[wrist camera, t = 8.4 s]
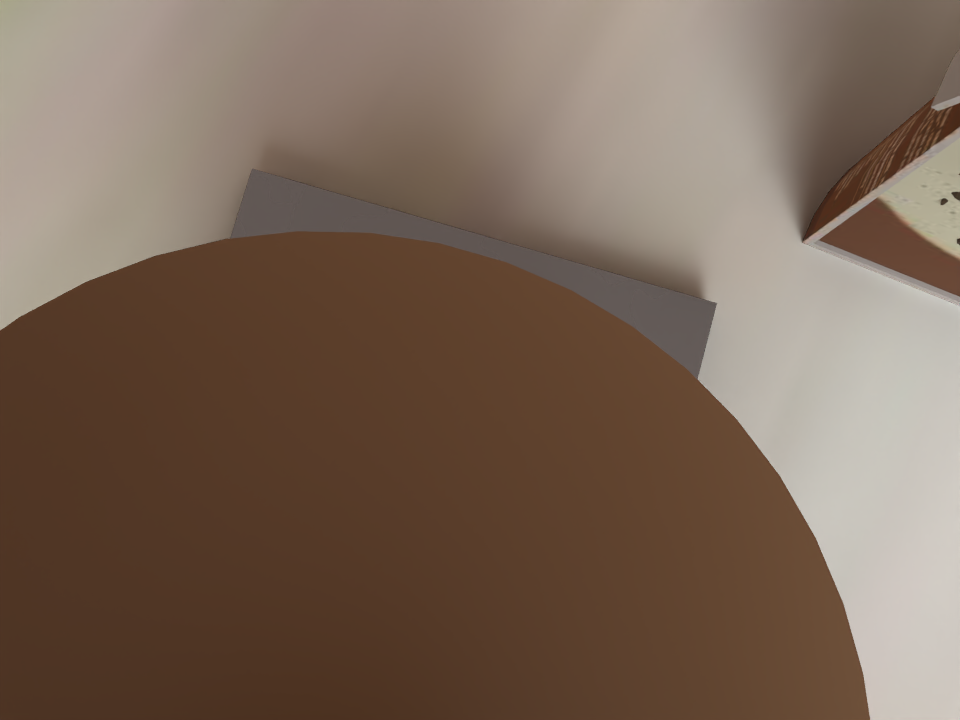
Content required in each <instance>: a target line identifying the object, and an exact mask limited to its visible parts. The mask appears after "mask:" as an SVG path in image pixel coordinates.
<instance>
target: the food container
mask: <svg viewBox="0 0 960 720" xmlns="http://www.w3.org/2000/svg"><path fill="white" fill-rule="evenodd" d="M802 243H805V244H807V245H810V246H812V247H815V248H817V249H820V250H822V251H825V252H827V253H830V254H832V255H835V256H837V257H840V258H842V259H845V260H847V261H850V262H852V263H855V264H857V265H860V266H862V267H865V268H867V269H869V270H872V271H874V272H877V273H879V274H882V275H884V276H887V277H889V278H892V279H894V280H897V281H899V282H902V283H904V284H907V285H909V286H912V287H914V288H917V289H919V290H922V291H924V292H927V293H929V294H932V295H934V296H937V297H939V298H942V299H944V300H947V301H949V302H952V303H954V304H957V305H959V306H960V49H959V50H958V52H957V53H956V55H955V56H954V58H953V59H952V61H951V63H950V65H949V67H948V69H947V72H946V74H945V76H944V78H943V81H942V83H941V85H940V87H939V90H938V92H937V94H936V96H935V97H934V98H933V99H932V100H930V101H929V102H928V103H927V104H926V105H924V106H923V107H922V108H921V109H920V110H919V111H917V112H916V113H915V114H914V115H913V116H912V117H910V118H909V119H908V120H907V121H906V122H905V123H903V124H902V125H901V126H900V127H899V128H898V129H896V130H895V131H894V132H893V133H892V134H890V135H889V136H888V137H887V138H886V139H885V140H883V141H882V142H881V143H880V144H879V145H878V146H876V147H875V148H874V149H873V150H872V151H871V152H869V153H868V154H867V155H866V156H865V157H863V158H862V159H861V160H860V161H859V162H858V163H856V164H855V165H854V166H853V167H852V168H851V169H849V170H848V171H847V172H846V173H845V175H844V176H843V177H842V178H841V179H840V180H839V181H838V182H837V183H836V185H835V186H834V187H833V188H832V189H831V190H830V191H829V193H828V194H827V196H826V197H825V199H824V200H823V202H822V203H821V205H820V207H819V208H818V210H817V211H816V213H815V214H814V216H813V219H812V221H811V223H810V226H809V228H808V230H807V232H806V235H805V237H804V239H803V242H802Z"/></svg>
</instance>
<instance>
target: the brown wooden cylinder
mask: <svg viewBox="0 0 960 720" xmlns="http://www.w3.org/2000/svg"><path fill="white" fill-rule="evenodd" d="M0 720H870V716H869V710H868V703H867V697H866V690H865V683H864V677H863V672H862V669H861V665H860V661H859V658H858V654H857V651H856V647H855V644H854V640H853V637H852V633H851V629H850V626H849V622H848V619H847V615H846V612H845V608H844V605H843V602H842V600H841V597H840V595H839V593H838V590H837V588H836V585H835V583H834V581H833V578H832V576H831V574H830V571H829V569H828V566H827V564H826V562H825V559H824V557H823V555H822V552H821V550H820V547H819V545H818V543H817V540H816V538H815V536H814V534H813V533H812V531H811V529H810V527H809V526H808V524H807V522H806V521H805V519H804V517H803V515H802V514H801V512H800V510H799V508H798V507H797V505H796V503H795V502H794V500H793V498H792V496H791V495H790V493H789V491H788V489H787V488H786V486H785V484H784V483H783V481H782V479H781V477H780V476H779V474H778V473H777V472H776V470H775V469H774V468H773V466H772V465H771V464H770V463H769V461H768V460H767V459H766V457H765V456H764V455H763V453H762V452H761V451H760V449H759V448H758V447H757V446H756V444H755V443H754V442H753V440H752V439H751V438H750V436H749V435H748V434H747V432H746V431H745V430H744V428H743V427H742V426H741V425H740V423H739V422H738V421H737V419H736V418H735V417H734V416H733V415H732V414H731V413H730V412H729V411H728V410H727V409H726V408H725V407H724V406H723V405H722V404H721V403H720V402H719V401H718V400H717V399H716V398H715V397H714V396H713V395H712V394H711V393H710V392H709V391H708V390H707V389H706V388H705V387H704V386H703V385H702V384H701V383H700V382H699V381H698V380H697V379H696V378H695V377H694V376H693V375H692V374H691V373H690V372H689V371H688V370H687V369H686V368H685V367H684V366H682V365H681V364H680V363H679V362H677V361H676V360H675V359H673V358H672V357H671V356H670V355H668V354H667V353H666V352H664V351H663V350H662V349H661V348H659V347H658V346H657V345H655V344H654V343H653V342H652V341H650V340H649V339H648V338H647V337H645V336H644V335H643V334H641V333H640V332H639V331H638V330H636V329H635V328H634V327H632V326H631V325H629V324H628V323H626V322H624V321H623V320H621V319H619V318H618V317H616V316H614V315H612V314H611V313H609V312H607V311H606V310H604V309H602V308H601V307H599V306H597V305H596V304H594V303H592V302H591V301H589V300H587V299H585V298H584V297H582V296H580V295H579V294H577V293H575V292H574V291H572V290H570V289H568V288H565V287H563V286H561V285H558V284H556V283H554V282H551V281H549V280H547V279H544V278H542V277H540V276H537V275H535V274H533V273H530V272H528V271H526V270H523V269H521V268H519V267H516V266H514V265H512V264H509V263H507V262H504V261H500V260H497V259H493V258H490V257H486V256H483V255H479V254H475V253H472V252H468V251H465V250H461V249H458V248H454V247H451V246H447V245H444V244H440V243H435V242H428V241H421V240H415V239H408V238H401V237H394V236H388V235H381V234H374V233H359V232H308V231H295V232H286V233H277V234H268V235H259V236H249V237H240V238H231V239H224V240H220V241H216V242H211V243H207V244H203V245H199V246H195V247H191V248H186V249H182V250H178V251H174V252H170V253H166V254H161V255H157V256H154V257H151V258H148V259H146V260H143V261H140V262H138V263H135V264H132V265H130V266H127V267H125V268H122V269H119V270H117V271H114V272H111V273H109V274H106V275H103V276H101V277H98V278H95V279H93V280H90V281H88V282H85V283H83V284H81V285H79V286H78V287H76V288H74V289H72V290H70V291H68V292H66V293H64V294H62V295H61V296H59V297H57V298H55V299H53V300H51V301H49V302H47V303H45V304H44V305H42V306H40V307H38V308H36V309H34V310H32V311H30V312H28V313H27V314H25V315H23V316H21V317H19V318H18V319H16V320H15V321H13V322H12V323H11V324H9V325H8V326H6V327H5V328H3V329H2V330H1V331H0Z"/></svg>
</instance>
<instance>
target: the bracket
mask: <svg viewBox="0 0 960 720" xmlns="http://www.w3.org/2000/svg"><path fill="white" fill-rule="evenodd" d="M295 231H308V232H359V233H374V234H381V235H388V236H394V237H401V238H408V239H415V240H421V241H428V242H435V243H440V244H444V245H447V246H451V247H454V248H458V249H461V250H465V251H468V252H472V253H475V254H479V255H483V256H486V257H490V258H493V259H497V260H500V261H504V262H507V263H509V264H512V265H514V266H516V267H519V268H521V269H523V270H526V271H528V272H530V273H533V274H535V275H537V276H540V277H542V278H544V279H547V280H549V281H551V282H554V283H556V284H558V285H561V286H563V287H565V288H568V289H570V290H572V291H574V292H575V293H577V294H579V295H580V296H582V297H584V298H585V299H587V300H589V301H591V302H592V303H594V304H596V305H597V306H599V307H601V308H602V309H604V310H606V311H607V312H609V313H611V314H612V315H614V316H616V317H618V318H619V319H621V320H623V321H624V322H626V323H628V324H629V325H631V326H632V327H634V328H635V329H636V330H638V331H639V332H640V333H641V334H643V335H644V336H645V337H647V338H648V339H649V340H650V341H652V342H653V343H654V344H655V345H657V346H658V347H659V348H661V349H662V350H663V351H664V352H666V353H667V354H668V355H670V356H671V357H672V358H673V359H675V360H676V361H677V362H679V363H680V364H681V365H682V366H684V367H685V368H686V369H687V370H688V371H689V372H690V373H691V374H692V375H693V376H694V377H695V378H696V379H697V378H698V374H699V371H700V367H701V363H702V359H703V355H704V351H705V347H706V343H707V339H708V335H709V332H710V328H711V324H712V320H713V316H714V312H715V308H716V304H717V303H714V302H711V301H707V300H704V299H701V298H697V297H694V296H690V295H687V294H683V293H680V292H676V291H673V290H669V289H666V288H663V287H659V286H656V285H652V284H649V283H645V282H642V281H638V280H635V279H631V278H628V277H625V276H621V275H618V274H614V273H611V272H607V271H604V270H600V269H597V268H593V267H590V266H587V265H583V264H580V263H576V262H573V261H569V260H566V259H562V258H559V257H555V256H552V255H549V254H545V253H542V252H538V251H535V250H531V249H528V248H524V247H521V246H518V245H514V244H511V243H507V242H504V241H500V240H497V239H493V238H490V237H486V236H483V235H480V234H476V233H473V232H469V231H466V230H462V229H459V228H455V227H452V226H448V225H445V224H442V223H438V222H435V221H431V220H428V219H424V218H421V217H417V216H414V215H410V214H407V213H404V212H400V211H397V210H393V209H390V208H386V207H383V206H379V205H376V204H372V203H369V202H366V201H362V200H359V199H355V198H352V197H348V196H345V195H341V194H338V193H334V192H331V191H328V190H324V189H321V188H317V187H314V186H310V185H307V184H303V183H300V182H296V181H293V180H290V179H286V178H283V177H279V176H276V175H272V174H269V173H265V172H262V171H258V170H255V169H252V171H251V174H250V177H249V180H248V184H247V187H246V190H245V193H244V196H243V200H242V203H241V206H240V209H239V212H238V216H237V219H236V222H235V225H234V228H233V232H232V235H231V238H240V237H249V236H259V235H268V234H277V233H286V232H295ZM231 238H230V239H231Z"/></svg>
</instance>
